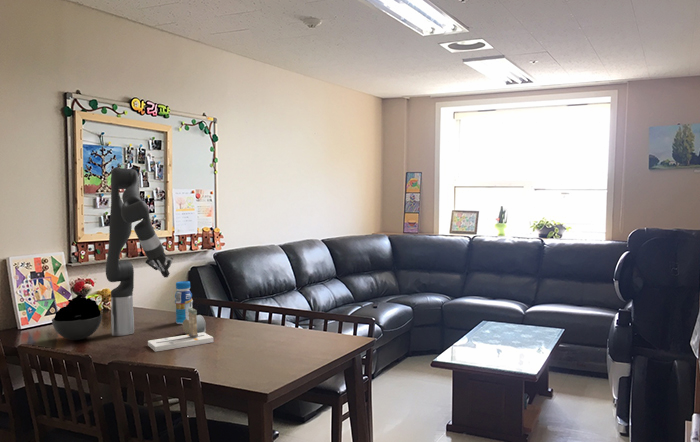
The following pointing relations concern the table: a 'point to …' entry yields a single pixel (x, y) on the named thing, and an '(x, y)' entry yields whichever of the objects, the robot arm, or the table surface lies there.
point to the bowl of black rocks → (77, 318)
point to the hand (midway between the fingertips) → (166, 276)
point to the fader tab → (192, 322)
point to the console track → (179, 342)
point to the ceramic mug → (200, 324)
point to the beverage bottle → (183, 301)
